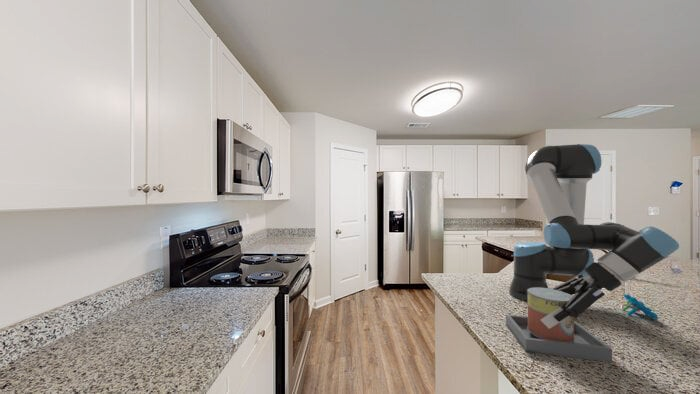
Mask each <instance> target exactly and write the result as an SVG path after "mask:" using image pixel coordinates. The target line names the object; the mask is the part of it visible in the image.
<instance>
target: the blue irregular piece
mask: <svg viewBox="0 0 700 394" xmlns="http://www.w3.org/2000/svg"><path fill="white" fill-rule="evenodd" d="M623 297H624V299H625V300H626V301H625V303H626V304H625V305H626V306H625V307H623V308H622V309H621V310H622V312H625V311H627V310H628V309H631V310H630V311H628V312H627V313H626V314H627V315H628V316H632V315H634V314H635V313H636V312H643V314H644V315H646V316H647V317H650V318H652V319H655V320H658V319H659V316H658V314H657V313H656V312H655V311H652V310H653V309H651V308H650V307H649V306H646V305H645V303H644V302H642V301H640V300H638V299H637V298H636V297H634V296H631V295H630V294H627V293H624V294H623Z"/></svg>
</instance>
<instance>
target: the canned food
mask: <svg viewBox="0 0 700 394" xmlns="http://www.w3.org/2000/svg"><path fill="white" fill-rule="evenodd" d="M527 291H528V301H527V316H528V326H527V329H528V331H529V332H530V333H531V334H533V335H534V336H536V337H538V338H541V339H544V340H553V341H562V342H571V343H573V342H574V321H575V318H574V317H573V316H572V317H571V316H569V317H568V318H566V319H564V320H563V321H561V322H560V323H558V324H556V325H555V326H553V327H552V328H550V329H549V328H548V327H547V326H546V325H545V324H544V323H543V322H542V321H541V319H542V318H544V317H545V316H547V315H548V314H550V313H552V312H553V311H555V310H556V309H558V308H559V307H560V305H564V306H565V305H566V303H567V302H568V301H569V300H570V299H571V298H572V297H573V295H570V294H568V293H565V292H563V291H559V290H555V289H553V288H550V287H548V288H542V287H532V288H529V289H527Z"/></svg>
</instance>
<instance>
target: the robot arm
mask: <svg viewBox="0 0 700 394" xmlns="http://www.w3.org/2000/svg"><path fill="white" fill-rule="evenodd" d="M601 167H602V155H601V153H600V151H599V150H598V148H597V147H596V146H595V145H593V144H585V143H582V144H581V143H578V144H577V143H576V144H562V145H546V146H542V147H540V148H538V149H536V150H534V151H533V152H532V153H530V156H529V157H528V159H527V160H526V162H525V165H524V170H525V174H526V177H527V178H528V179H529V181H531V182H532V185H533V187H534V189H535V191H536V194H537V197H538V200H539V203H540V206H541V208H542V210H543V213H544V215H545V218H546V221H547V224H546V225H545V226H544V228H543V239H544V241H545V242H543V241H542V242H540V241H525V242H519V243H517V244H515V246H514V248H513V278H512V280H511V283H510V285H509V288H508V289H509V290H508V293H509V295H510V296H512V297H514V298H516V299H518V300H521V301H525V302H528V291H527V289H529V288H532V287H542V288H549V286H548V285H549V284H548V283H547V275H558V276H570V277H573V278H571V279H569V280H567V281H565V282H562V283H560V284H559V285H557V286H555V287H552V289H555V290H559V291H563V292H565V293H568V294H570V295H572V296H573V297H572V298H571V299H570V300H569V301H568V302H567V303H566V305H565V306H564V305H560V307H559V308H558V309H556V310H555V311H553V312H552V313H550V314H548V315H547V316H545V317H544V318H542V319H541V321H542V322H543V323H544V324H545V325H546V326H547V327H548V328H549V329H550V328H552V327H553V326H555V325H556V324H558V323H560V322H561V321H563V320H564V319H566V318H568V317H569V316H571V317H572V316H573V317H574V319H577V318H578V317H580V315H582V314H583V313H584V312H586V310H587V309H589V308H590V307H591V306H592V305H593V304H594V303H596V302H597V301H598V300H600V299H601V298H602V297H604V296H605V295H606V294H605V293H604V291H602V289H603V288H604V289H605V290H606V291H607V292H612V291H614V290H616V289H617V288H619V287H620V286H622V284H623V283H622V282H624V283H627V282H628V281H630V280H631V279H633V280H635V279H636V278H637V277H636V276H637V275H639V274H641V273H643V272H644V271H646V270H648V269H649V268H651V267H653V266H654V265H657V264H658V263H660V262H661V261H663V260H664V259H666V258H668V257H670V256H671V255H672V254H673V253H675V252H676V251H677V250H678V249H680V244H679V243H678V241H677V240H676V239H674V237H672V236H671V235H669V234H668V233H666V232H665V231H663V230H662V229H659V228H657V227H655V226H646V227H644V228H642V229H640V230H639V231H637V230H634V229H632V228H629V227H628V226H625V225H624V224H621V223H616V222H610V221H609V222H603V223H600V224H585V212H586V201H587V200H586V198H587V197H586V196H587V183H588V182H590V181H591V180H592V179H593V175H594V174H597V173H598V172H600V168H601ZM592 250H599V251H600V250H602V251H608V252H606V253H605V254H603V255H602V256H600V257H599V258H597V259H596V260H597V262H595V258H594V254H593V252H592Z"/></svg>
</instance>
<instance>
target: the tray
mask: <svg viewBox="0 0 700 394" xmlns="http://www.w3.org/2000/svg"><path fill="white" fill-rule="evenodd" d="M505 325H506V327H507V328H508V330H509V331H510V332H511V334H512V335H513V336H514V338H515V339H516V341H517V342H518V343H519V345H520V346H521V347H522V349H523V350H524V351H525V352H527V353H534V354H543V355H551V356H558V357H566V358H572V359H573V358H575V359H582V360H590V361H591V360H592V361H599V362H604V363H605V362H606V363H613V348H611V347H610V346H609V345H608V344H607V343H605V342H604V341H603V340H601V339H600V338H598V337H597V336H596V335H594V333H592V332H591V331H589V330H587V329H586V328H585V327H584V326H582V325H581V324H579V322H577V321H576V320H574V342H573V343H571V342H562V341H553V340H544V339H541V338H538V337H536V336H534V335H533V334H531V333H530V332H529V331H528V329H527V326H528V315H527V316H524V315H514V314H507V313H506V314H505Z"/></svg>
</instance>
